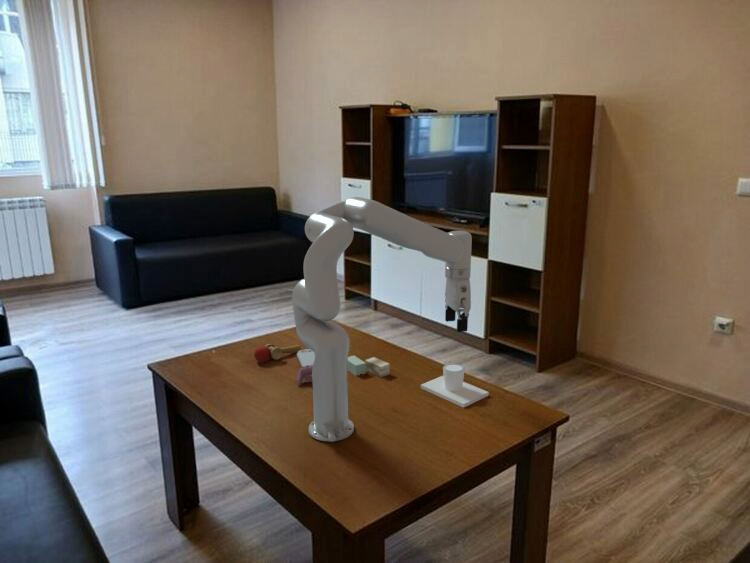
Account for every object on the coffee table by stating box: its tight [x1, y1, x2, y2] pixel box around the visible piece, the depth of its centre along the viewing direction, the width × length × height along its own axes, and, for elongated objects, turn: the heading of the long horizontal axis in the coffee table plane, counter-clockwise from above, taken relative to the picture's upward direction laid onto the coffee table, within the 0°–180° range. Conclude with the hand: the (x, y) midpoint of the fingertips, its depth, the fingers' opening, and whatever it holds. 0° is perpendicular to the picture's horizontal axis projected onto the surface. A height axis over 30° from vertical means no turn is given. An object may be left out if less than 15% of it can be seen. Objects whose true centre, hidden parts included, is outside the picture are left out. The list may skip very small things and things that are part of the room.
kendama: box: [253, 343, 302, 363], centre depth 215 cm, size 8×6×18 cm
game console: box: [296, 348, 315, 368], centre depth 211 cm, size 18×2×8 cm
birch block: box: [364, 356, 391, 378], centre depth 202 cm, size 8×4×4 cm, turn 43°
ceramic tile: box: [420, 375, 490, 409], centre depth 187 cm, size 18×12×1 cm, turn 41°
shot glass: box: [442, 363, 466, 392], centre depth 186 cm, size 7×7×7 cm
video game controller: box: [296, 365, 313, 387], centre depth 194 cm, size 10×5×7 cm, turn 86°
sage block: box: [347, 355, 367, 377], centre depth 203 cm, size 8×4×4 cm, turn 32°
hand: (456, 326), depth 181 cm, fingers open, 9 cm apart
